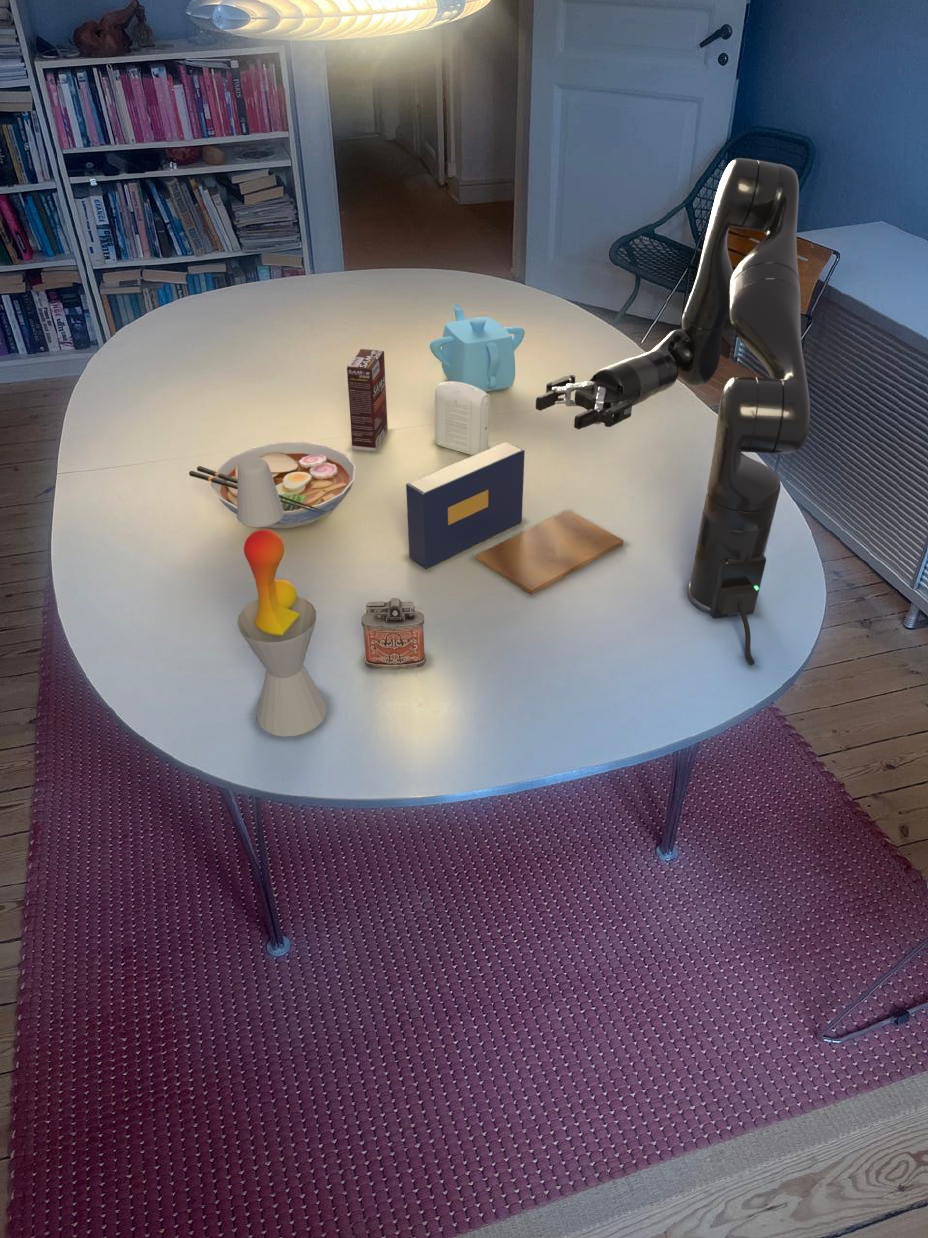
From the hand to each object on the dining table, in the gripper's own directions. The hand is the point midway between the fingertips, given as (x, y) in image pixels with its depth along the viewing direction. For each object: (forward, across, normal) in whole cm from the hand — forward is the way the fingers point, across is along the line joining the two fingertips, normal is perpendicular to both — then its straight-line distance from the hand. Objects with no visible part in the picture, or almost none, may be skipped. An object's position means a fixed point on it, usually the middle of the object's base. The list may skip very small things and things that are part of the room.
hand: (556, 413), depth 149 cm
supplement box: (+10, -36, +16) cm, 41 cm away
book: (+19, 0, +15) cm, 24 cm away
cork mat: (+11, +11, +15) cm, 22 cm away
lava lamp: (+61, +15, +15) cm, 65 cm away
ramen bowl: (+36, -25, +16) cm, 46 cm away
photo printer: (0, -23, +16) cm, 28 cm away
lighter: (+45, +16, +15) cm, 50 cm away
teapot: (-21, -44, +16) cm, 51 cm away
